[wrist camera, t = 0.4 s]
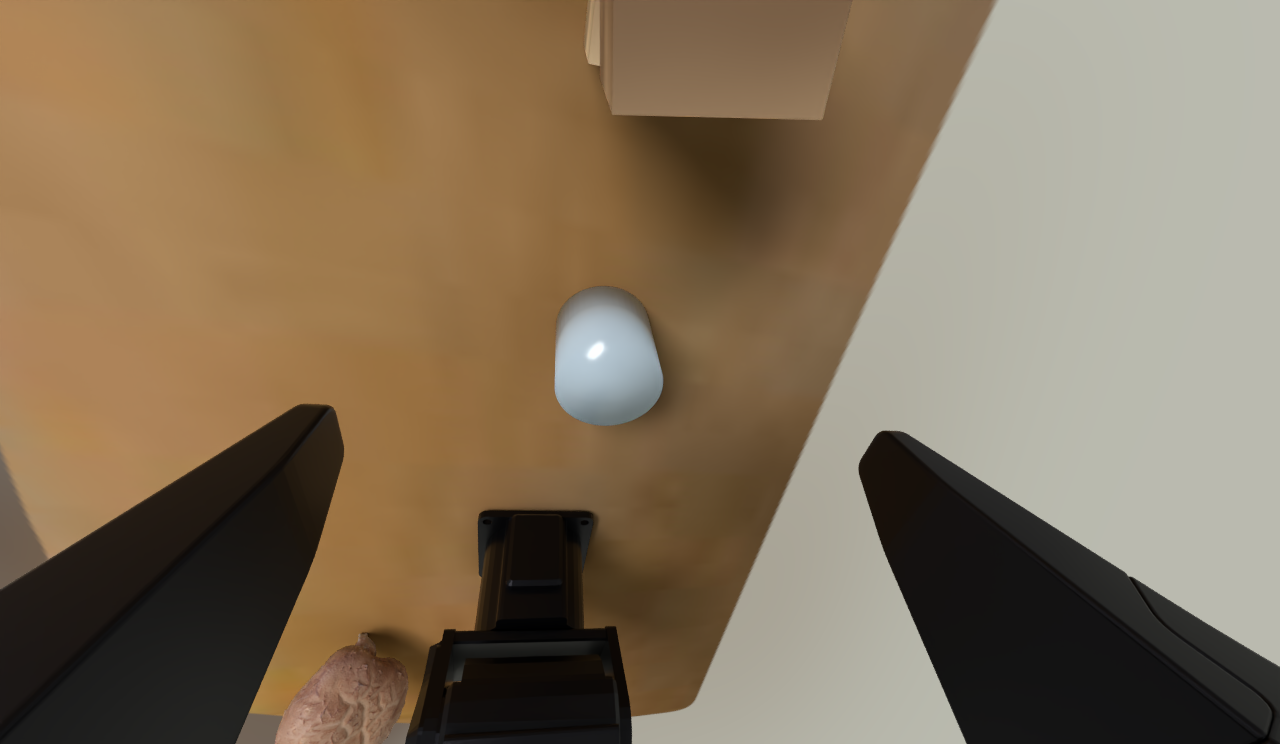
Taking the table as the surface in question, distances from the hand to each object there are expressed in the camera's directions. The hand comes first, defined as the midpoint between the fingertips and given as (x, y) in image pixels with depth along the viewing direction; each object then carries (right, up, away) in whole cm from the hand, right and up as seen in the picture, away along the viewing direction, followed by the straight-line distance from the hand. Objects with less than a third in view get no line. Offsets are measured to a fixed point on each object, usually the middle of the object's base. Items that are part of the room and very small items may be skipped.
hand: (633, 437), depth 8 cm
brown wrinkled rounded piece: (-19, -18, +27) cm, 38 cm away
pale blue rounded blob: (-1, +3, +13) cm, 14 cm away
